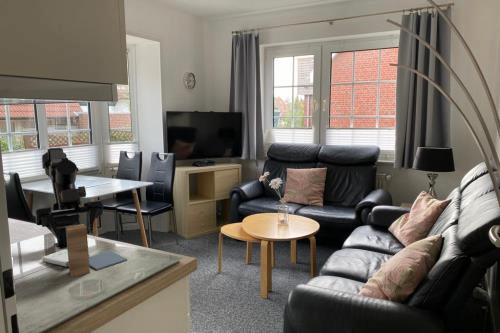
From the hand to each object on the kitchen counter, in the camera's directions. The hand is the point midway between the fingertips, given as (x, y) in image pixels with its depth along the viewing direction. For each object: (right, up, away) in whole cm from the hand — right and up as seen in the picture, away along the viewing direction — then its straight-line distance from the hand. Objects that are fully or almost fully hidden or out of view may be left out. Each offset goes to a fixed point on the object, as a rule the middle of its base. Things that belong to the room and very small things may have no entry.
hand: (75, 235), depth 109 cm
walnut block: (+2, -11, -1) cm, 11 cm away
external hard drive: (-7, -9, +8) cm, 14 cm away
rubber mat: (+6, -9, +8) cm, 13 cm away
